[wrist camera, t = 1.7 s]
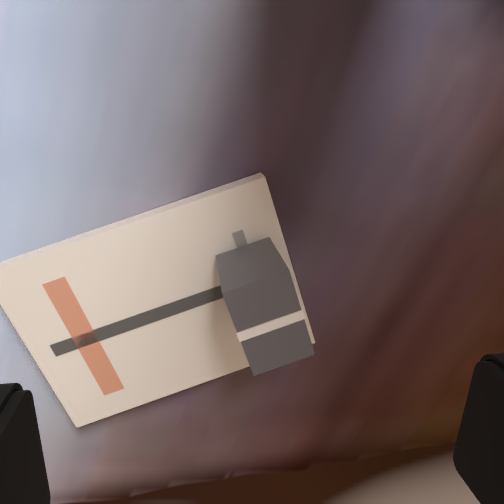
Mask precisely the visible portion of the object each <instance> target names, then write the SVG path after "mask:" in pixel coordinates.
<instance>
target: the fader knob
mask: <svg viewBox="0 0 504 504" xmlns="http://www.w3.org/2000/svg"><path fill="white" fill-rule="evenodd" d="M215 257H216V262H217V268H218V274H219V279H220V285H221V291H222V295H223V297H224V300H225V303H226V305H227V308H228V310H229V313H230V316H231V318H232V321H233V324H234V326H235V329H236V331H237V333H236V334H237V337H238V339H239V342H241V344H242V347H243V350H244V352H245V355H246V358H247V360H248V363H249V365H250V368H251V371H252V373H253V376H257V375H259V374H262V373H265V372H268V371H271V370H273V369H276V368H279V367H282V366H285V365H287V364H290V363H293V362H296V361H299V360H301V359H304V358H307V357H310V356H313V355H315V352H314V349H313V346H312V342H311V339H310V336H309V333H308V329H307V326H306V323H305V316H304V313H303V310H301V306H300V303H299V300H298V297H297V293H296V290H295V287H294V283H293V280H292V277H291V274H290V270H289V268H288V267H287V265H286V264H285V262H284V260H283V259H282V257H281V255H280V254H279V252H278V250H277V249H276V247H275V245H274V244H273V242H272V240H271V239H270V237H267V238H264V239H261V240H259V241H256V242H253V243H250V244H247V245H244V246H241V247H239V248H236V249H233V250H230V251H227V252H224V253H221V254H218V255H216V256H215Z"/></svg>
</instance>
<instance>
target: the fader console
mask: <svg viewBox="0 0 504 504" xmlns="http://www.w3.org/2000/svg"><path fill="white" fill-rule="evenodd" d="M267 237H270V239H271V240H272V242H273V244H274V245H275V247H276V249H277V250H278V252H279V254H280V255H281V257H282V259H283V260H284V262H285V264H286V265H287V267H288V268H289V270H290V274H291V277H292V280H293V283H294V287H295V290H296V293H297V297H298V300H299V303H300V306H301V310H303V313H304V316H305V323H306V326H307V329H308V333H309V336H310V339H311V342H312V344H313V343H315V340H314V337H313V334H312V330H311V327H310V324H309V320H308V317H307V314H306V310H305V307H304V304H303V300H302V297H301V294H300V290H299V287H298V284H297V281H296V277H295V274H294V271H293V267H292V264H291V261H290V257H289V254H288V251H287V247H286V244H285V241H284V238H283V234H282V231H281V228H280V224H279V221H278V218H277V214H276V211H275V208H274V204H273V201H272V198H271V194H270V191H269V188H268V185H267V181H266V178H265V176H264V175H263V174H262V173H261V172H260V173H257V174H254V175H251V176H248V177H245V178H242V179H239V180H237V181H234V182H231V183H228V184H225V185H222V186H219V187H216V188H213V189H210V190H207V191H205V192H202V193H199V194H196V195H193V196H190V197H187V198H184V199H181V200H178V201H175V202H173V203H170V204H167V205H164V206H161V207H158V208H155V209H152V210H149V211H146V212H143V213H141V214H138V215H135V216H132V217H129V218H126V219H123V220H120V221H117V222H114V223H111V224H109V225H106V226H103V227H100V228H97V229H94V230H91V231H88V232H85V233H82V234H79V235H77V236H74V237H71V238H68V239H65V240H62V241H59V242H56V243H53V244H50V245H47V246H45V247H42V248H39V249H36V250H33V251H30V252H27V253H24V254H21V255H18V256H15V257H13V258H10V259H7V260H4V261H1V262H0V305H1V306H2V308H3V310H4V311H5V313H6V314H7V316H8V318H9V319H10V321H11V322H12V324H13V326H14V327H15V329H16V331H17V332H18V334H19V335H20V337H21V339H22V340H23V342H24V343H25V345H26V347H27V348H28V350H29V352H30V353H31V355H32V356H33V358H34V360H35V361H36V363H37V365H38V366H39V368H40V369H41V371H42V373H43V374H44V376H45V377H46V379H47V381H48V382H49V384H50V386H51V387H52V389H53V390H54V392H55V394H56V395H57V397H58V399H59V400H60V402H61V403H62V405H63V407H64V408H65V410H66V411H67V413H68V415H69V416H70V418H71V420H72V421H73V423H74V424H75V426H76V428H78V427H81V426H83V425H86V424H89V423H92V422H95V421H97V420H100V419H103V418H106V417H109V416H112V415H114V414H117V413H120V412H123V411H126V410H128V409H131V408H134V407H137V406H140V405H142V404H145V403H148V402H151V401H154V400H156V399H159V398H162V397H165V396H168V395H170V394H173V393H176V392H179V391H182V390H184V389H187V388H190V387H193V386H196V385H198V384H201V383H204V382H207V381H210V380H212V379H215V378H218V377H221V376H224V375H227V374H229V373H232V372H235V371H238V370H241V369H243V368H246V367H249V366H250V365H249V363H248V360H247V358H246V355H245V352H244V350H243V347H242V344H241V342H239V339H238V337H237V334H236V333H237V331H236V329H235V326H234V324H233V321H232V318H231V316H230V313H229V310H228V308H227V305H226V303H225V300H224V297H223V295H222V291H221V285H220V279H219V274H218V268H217V262H216V257H215V256H216V255H218V254H221V253H224V252H227V251H230V250H233V249H236V248H239V247H241V246H244V245H247V244H250V243H253V242H256V241H259V240H261V239H264V238H267Z"/></svg>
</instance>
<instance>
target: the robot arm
mask: <svg viewBox="0 0 504 504" xmlns="http://www.w3.org/2000/svg"><path fill="white" fill-rule="evenodd" d="M453 460H454V464H455V467H456V470H457V471H458V473H459V475H460V476H461V477H462V478H463V480H464V481H465V483H466V484H467V486H468V487H469V488H470V490H471V491H472V492H473V494H474V495H475V496H476V498H477V499H478V501H479V502H480V503H481V504H504V353H500V354H487V355H484V356H483V357H482V358H481V360H480V362H478V363H477V364H476V366H475V368H474V372H473V376H472V380H471V384H470V388H469V392H468V397H467V401H466V405H465V409H464V413H463V417H462V421H461V425H460V429H459V433H458V437H457V441H456V445H455V449H454V454H453ZM0 504H50V490H49V485H48V479H47V473H46V468H45V462H44V457H43V451H42V445H41V440H40V434H39V429H38V423H37V417H36V412H35V406H34V401H33V396H32V393H31V391H29V390H23V389H22V386H21V385H20V384H19V383H9V384H0Z"/></svg>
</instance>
